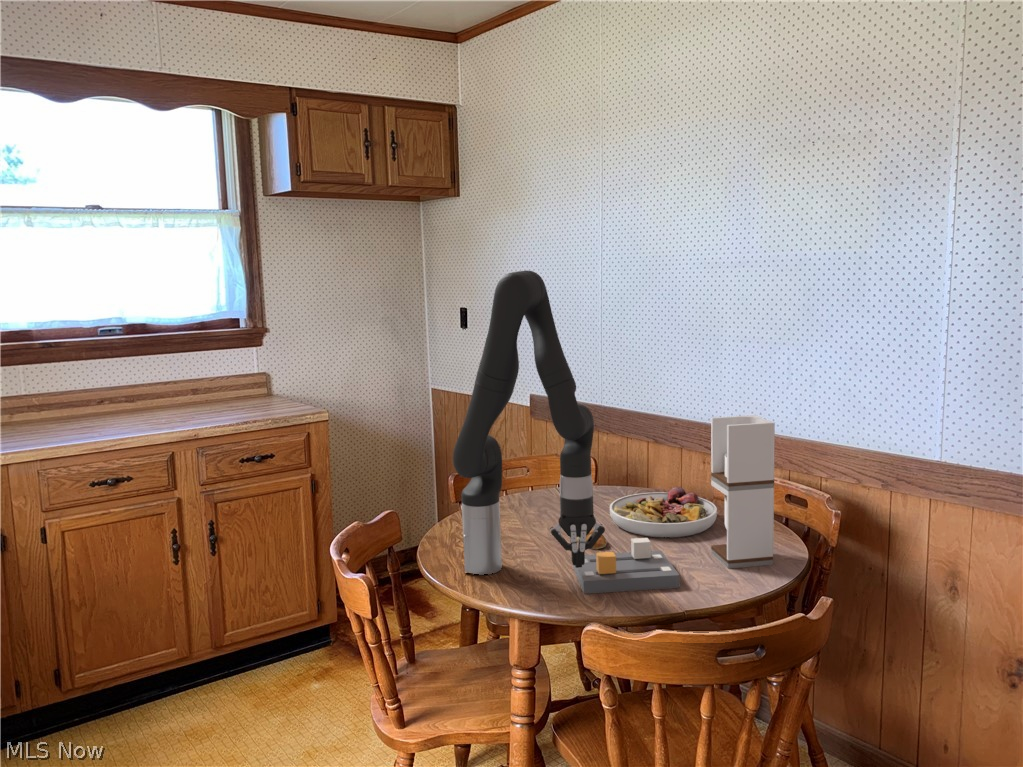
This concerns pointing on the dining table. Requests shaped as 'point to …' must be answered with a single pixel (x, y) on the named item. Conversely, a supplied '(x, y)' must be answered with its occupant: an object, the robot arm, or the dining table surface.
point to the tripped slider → (606, 562)
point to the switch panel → (628, 574)
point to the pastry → (600, 543)
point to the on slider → (640, 548)
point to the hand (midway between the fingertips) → (578, 566)
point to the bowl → (663, 513)
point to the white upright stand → (744, 488)
